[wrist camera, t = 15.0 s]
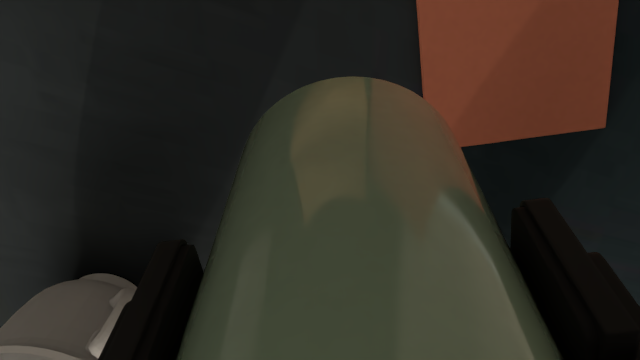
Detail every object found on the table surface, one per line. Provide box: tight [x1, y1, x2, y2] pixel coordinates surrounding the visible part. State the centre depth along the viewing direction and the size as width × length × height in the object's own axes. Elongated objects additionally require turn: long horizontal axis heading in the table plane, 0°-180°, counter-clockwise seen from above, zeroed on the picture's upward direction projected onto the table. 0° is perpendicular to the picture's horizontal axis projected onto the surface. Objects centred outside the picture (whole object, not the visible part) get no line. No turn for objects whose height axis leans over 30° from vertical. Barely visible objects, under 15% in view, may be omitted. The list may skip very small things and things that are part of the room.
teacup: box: [0, 273, 137, 360], centre depth 33 cm, size 12×15×10 cm
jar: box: [176, 77, 564, 360], centre depth 12 cm, size 14×7×13 cm
